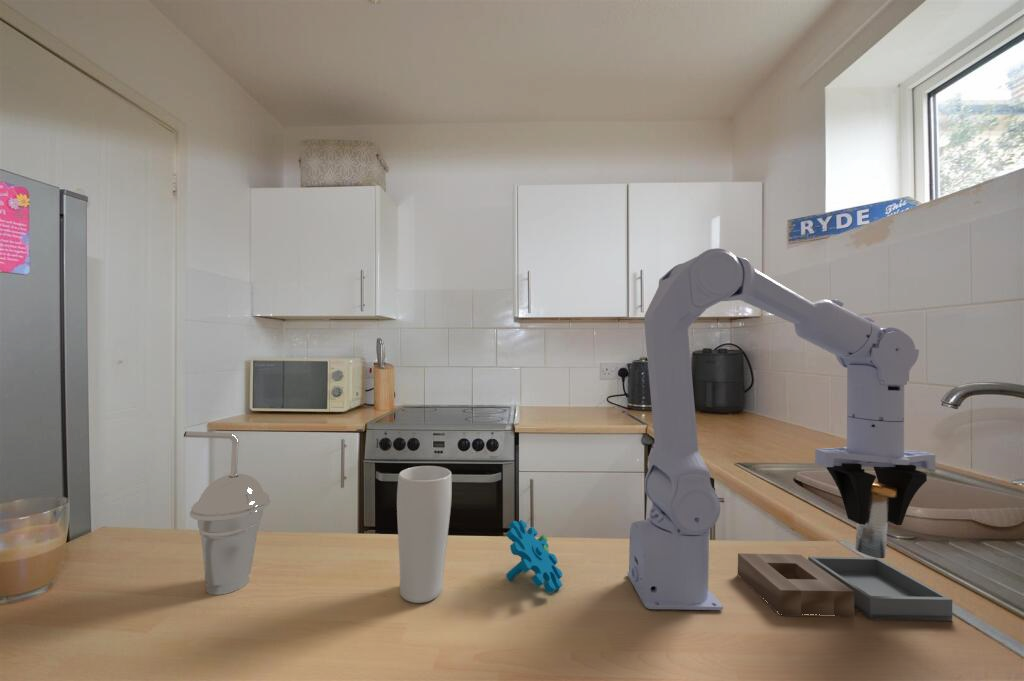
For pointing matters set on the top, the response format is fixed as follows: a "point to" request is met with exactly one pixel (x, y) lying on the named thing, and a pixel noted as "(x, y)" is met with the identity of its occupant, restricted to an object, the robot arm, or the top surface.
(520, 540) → the gear
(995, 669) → the top surface
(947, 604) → the tray
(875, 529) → the pin
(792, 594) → the holder block
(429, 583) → the drinking glass
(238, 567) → the cup with straw
